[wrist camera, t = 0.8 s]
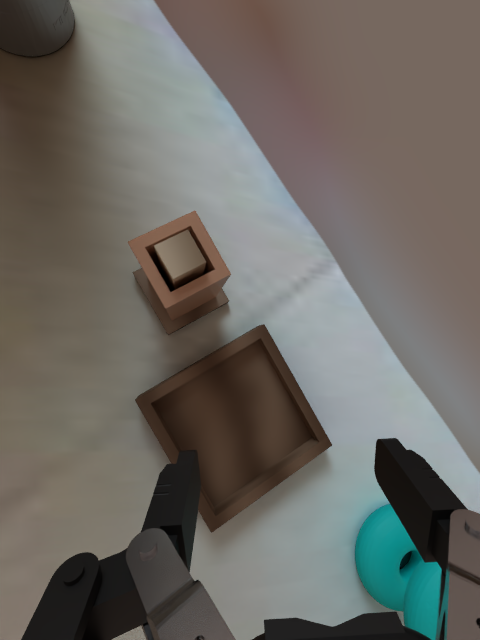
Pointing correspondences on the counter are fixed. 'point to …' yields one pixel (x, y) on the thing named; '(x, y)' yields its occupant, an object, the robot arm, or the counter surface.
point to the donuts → (398, 571)
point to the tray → (236, 423)
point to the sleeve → (195, 290)
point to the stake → (178, 278)
